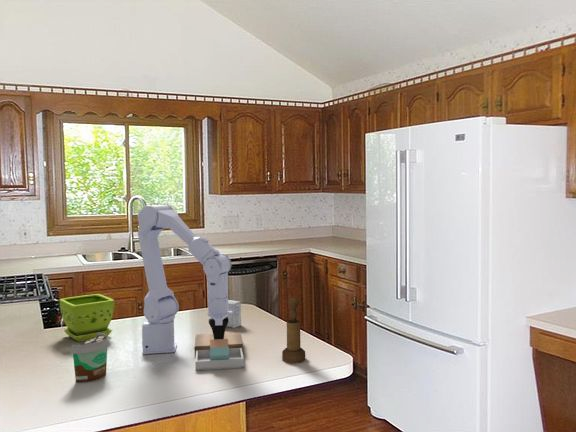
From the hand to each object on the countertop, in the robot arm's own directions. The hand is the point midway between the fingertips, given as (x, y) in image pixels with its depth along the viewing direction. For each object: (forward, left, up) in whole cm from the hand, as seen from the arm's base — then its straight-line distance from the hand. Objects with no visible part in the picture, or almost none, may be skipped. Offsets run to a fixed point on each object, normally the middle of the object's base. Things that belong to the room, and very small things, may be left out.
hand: (218, 343), depth 150 cm
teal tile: (0, -7, 0) cm, 7 cm away
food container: (-32, -9, -4) cm, 34 cm away
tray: (0, -4, -4) cm, 6 cm away
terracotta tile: (0, -2, -2) cm, 3 cm away
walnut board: (0, +7, -4) cm, 8 cm away
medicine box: (+4, +35, -4) cm, 36 cm away
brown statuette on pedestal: (+21, -5, -4) cm, 22 cm away
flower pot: (-43, +30, -4) cm, 53 cm away
